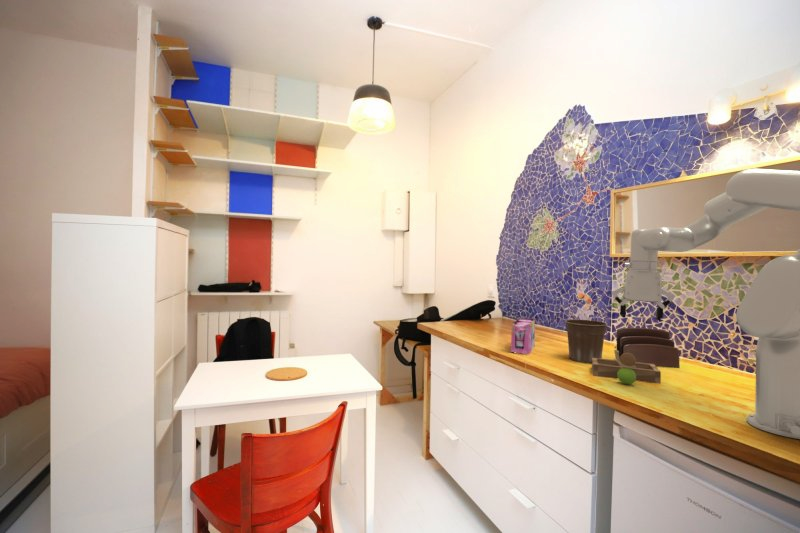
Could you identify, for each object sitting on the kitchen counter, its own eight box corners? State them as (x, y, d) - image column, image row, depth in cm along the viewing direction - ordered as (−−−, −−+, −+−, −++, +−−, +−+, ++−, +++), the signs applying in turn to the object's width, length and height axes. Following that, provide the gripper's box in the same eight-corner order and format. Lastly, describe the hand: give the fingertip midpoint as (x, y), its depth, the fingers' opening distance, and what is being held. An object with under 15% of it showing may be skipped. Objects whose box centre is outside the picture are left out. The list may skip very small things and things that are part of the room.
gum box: (528, 356, 162) (528, 324, 162) (509, 353, 166) (510, 323, 166) (534, 346, 184) (535, 319, 184) (518, 344, 187) (518, 317, 187)
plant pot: (603, 367, 145) (604, 326, 145) (559, 360, 154) (560, 321, 155) (609, 359, 158) (610, 321, 158) (569, 354, 167) (569, 318, 168)
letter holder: (615, 358, 160) (616, 326, 161) (668, 362, 155) (669, 329, 155) (623, 364, 151) (623, 329, 151) (679, 368, 146) (680, 332, 146)
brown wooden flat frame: (660, 383, 124) (660, 371, 124) (593, 375, 133) (593, 364, 133) (653, 374, 135) (653, 363, 135) (591, 367, 143) (592, 357, 143)
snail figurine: (615, 380, 127) (615, 345, 128) (637, 384, 123) (637, 347, 123) (612, 383, 123) (612, 347, 123) (634, 387, 119) (635, 350, 119)
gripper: (613, 265, 122) (611, 317, 123) (678, 268, 115) (675, 323, 115) (612, 265, 129) (610, 314, 129) (672, 267, 121) (670, 319, 122)
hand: (640, 318), depth 122 cm, fingers open, 9 cm apart
